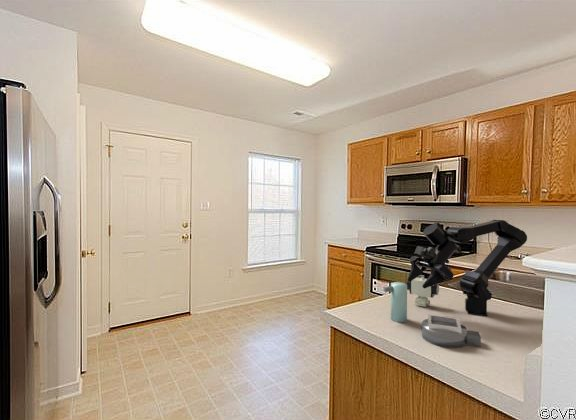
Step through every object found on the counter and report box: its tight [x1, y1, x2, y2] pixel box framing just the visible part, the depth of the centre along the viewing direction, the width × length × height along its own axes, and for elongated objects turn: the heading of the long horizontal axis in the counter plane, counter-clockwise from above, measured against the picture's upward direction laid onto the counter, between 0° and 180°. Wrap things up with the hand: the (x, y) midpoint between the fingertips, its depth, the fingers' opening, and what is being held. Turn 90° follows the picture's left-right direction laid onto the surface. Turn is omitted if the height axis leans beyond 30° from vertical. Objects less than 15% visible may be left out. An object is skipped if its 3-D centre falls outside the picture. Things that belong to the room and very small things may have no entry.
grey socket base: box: [421, 314, 482, 349], centre depth 94 cm, size 16×13×6 cm
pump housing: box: [383, 281, 408, 323], centre depth 110 cm, size 8×6×13 cm
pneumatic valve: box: [406, 276, 440, 308], centre depth 125 cm, size 6×12×12 cm, turn 51°
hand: (415, 284), depth 111 cm, fingers open, 9 cm apart
